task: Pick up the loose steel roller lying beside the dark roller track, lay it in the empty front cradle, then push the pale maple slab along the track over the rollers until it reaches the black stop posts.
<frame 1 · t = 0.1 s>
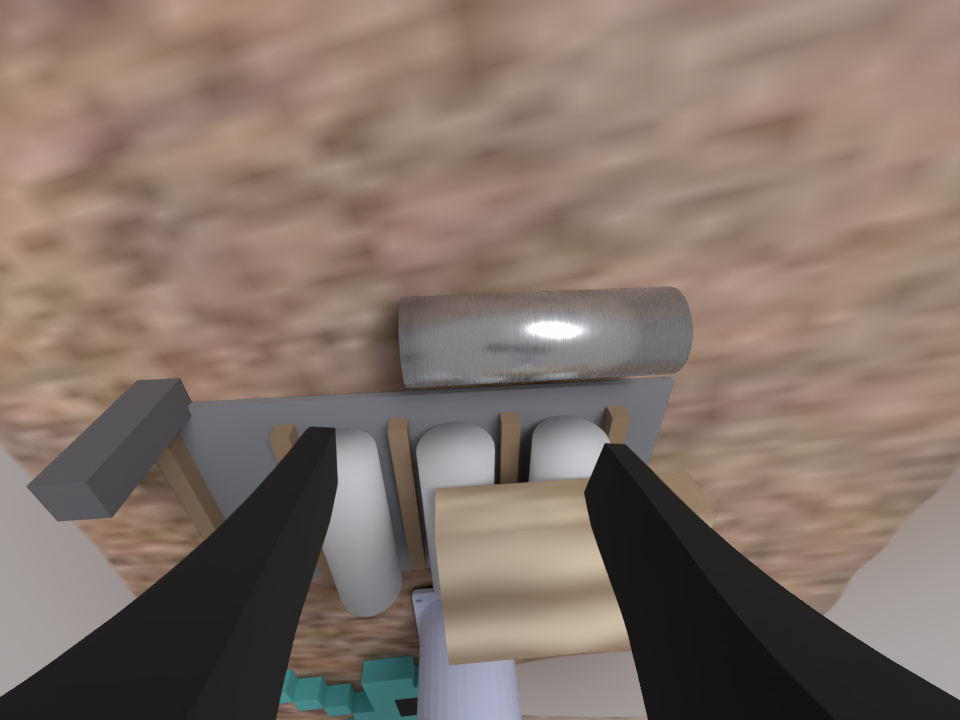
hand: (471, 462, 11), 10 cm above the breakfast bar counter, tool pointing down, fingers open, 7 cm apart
roller bed: (426, 490, 26), on the breakfast bar counter
loose roller: (530, 316, 20), on the breakfast bar counter
slab: (558, 576, 22), point 6 cm above the breakfast bar counter, slide at 0.0 cm
alien figure: (394, 693, 45), on the breakfast bar counter
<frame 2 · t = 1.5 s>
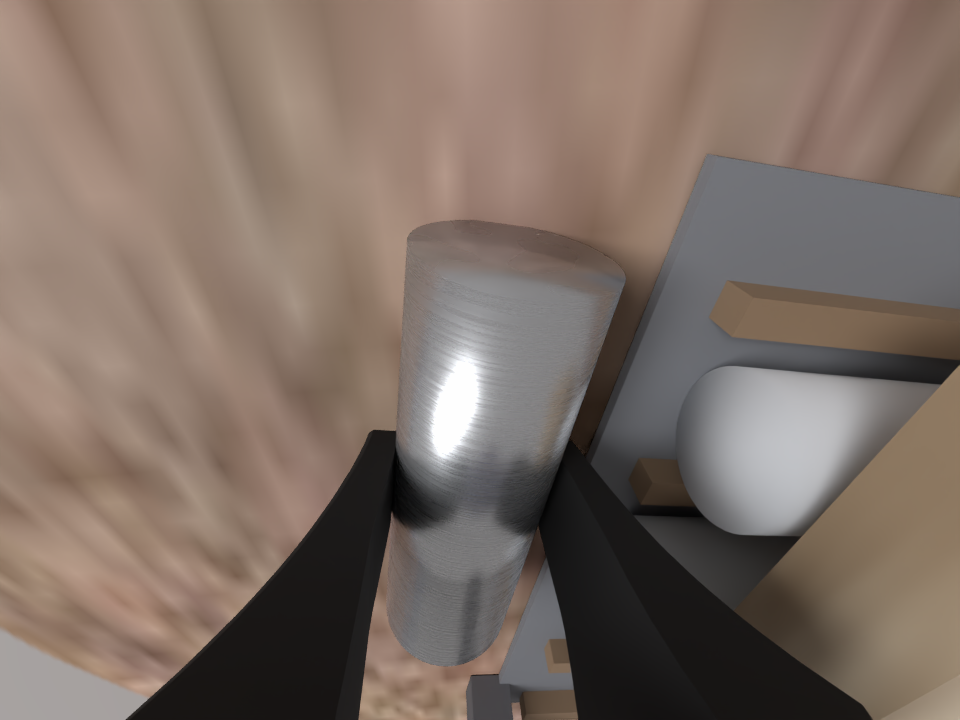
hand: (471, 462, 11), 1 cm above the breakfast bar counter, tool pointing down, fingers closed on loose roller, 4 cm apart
roller bed: (733, 551, 17), on the breakfast bar counter
loose roller: (467, 424, 12), on the breakfast bar counter, touching gripper
when the fingers open (3 cm above the breakfast bar counter, at t = 6.4 s): loose roller stays where it is, resting on roller bed.
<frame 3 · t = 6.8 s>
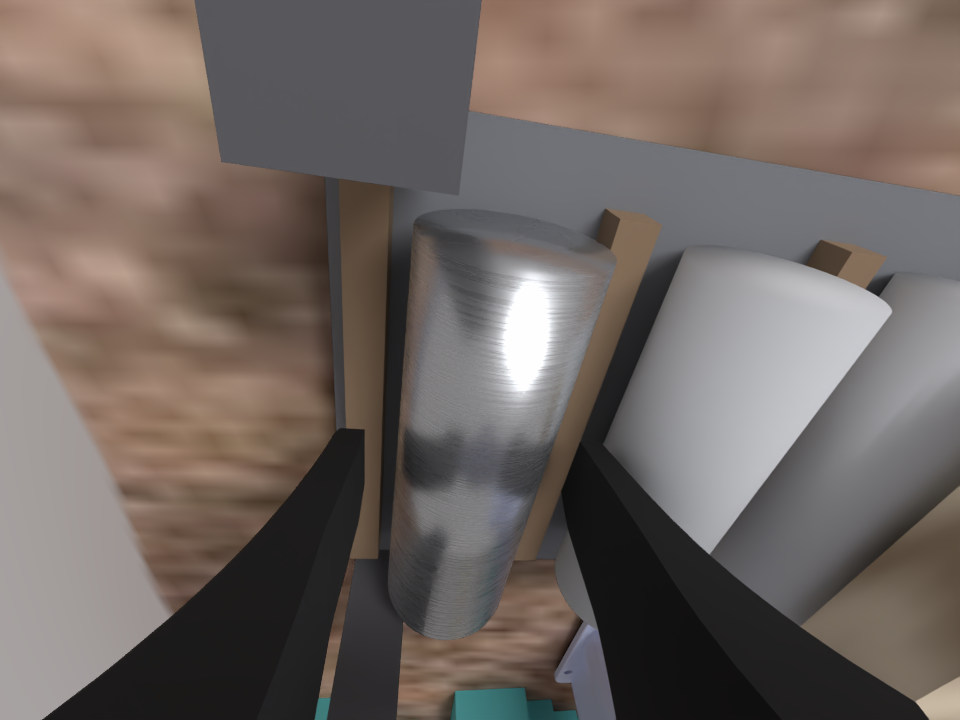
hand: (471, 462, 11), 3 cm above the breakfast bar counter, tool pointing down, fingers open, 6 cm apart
roller bed: (742, 420, 15), on the breakfast bar counter
loose roller: (466, 407, 13), resting on roller bed
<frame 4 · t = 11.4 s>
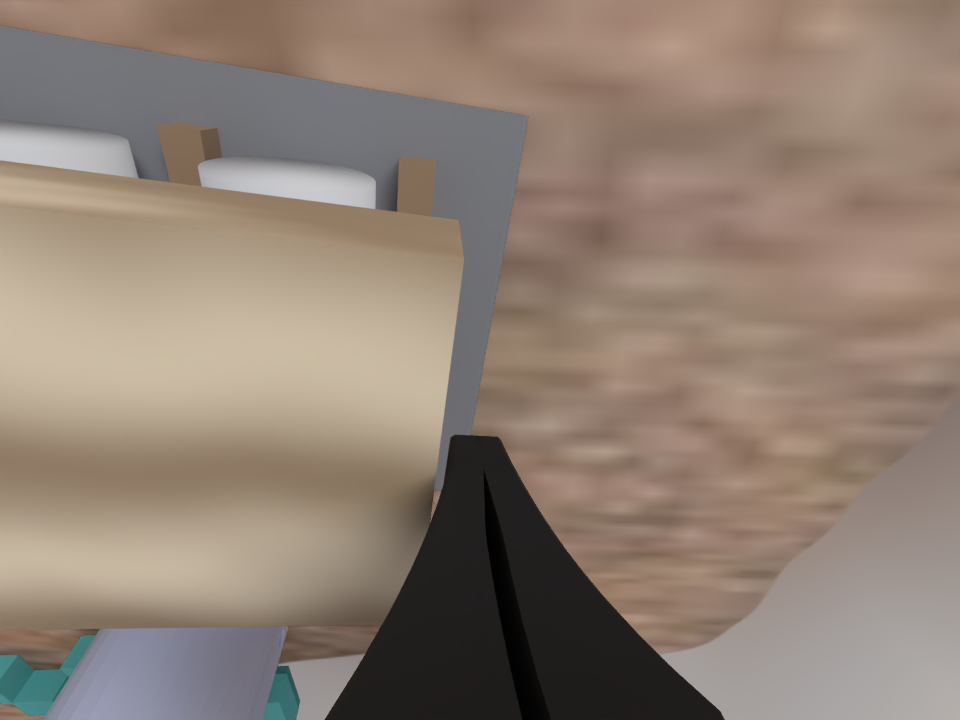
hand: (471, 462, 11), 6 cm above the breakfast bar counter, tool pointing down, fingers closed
roller bed: (87, 313, 14), on the breakfast bar counter
slab: (187, 450, 10), point 6 cm above the breakfast bar counter, slide at 0.9 cm, touching gripper
alien figure: (158, 688, 32), on the breakfast bar counter
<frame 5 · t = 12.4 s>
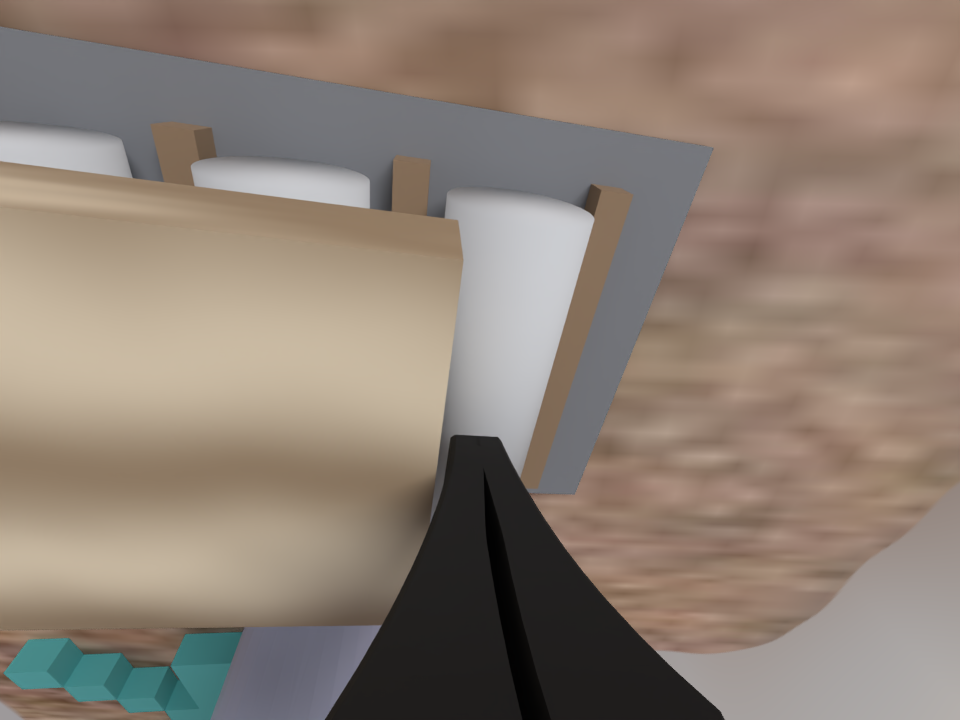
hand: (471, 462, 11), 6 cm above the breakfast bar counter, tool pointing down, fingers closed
roller bed: (266, 329, 15), on the breakfast bar counter
slab: (187, 451, 10), point 6 cm above the breakfast bar counter, slide at 6.8 cm, touching gripper
alien figure: (240, 685, 32), on the breakfast bar counter
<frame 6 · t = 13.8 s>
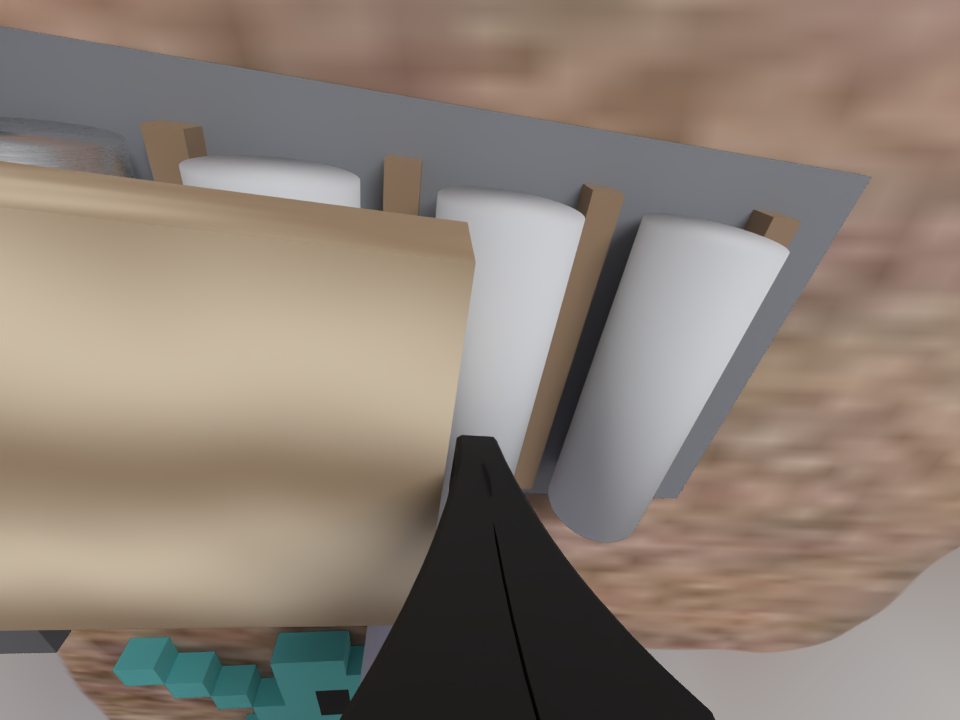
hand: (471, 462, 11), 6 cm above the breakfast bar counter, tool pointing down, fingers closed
roller bed: (423, 342, 16), on the breakfast bar counter
loose roller: (130, 321, 14), resting on roller bed, tilted 8°
slab: (195, 451, 10), point 6 cm above the breakfast bar counter, slide at 12.3 cm, touching gripper
alien figure: (315, 683, 33), on the breakfast bar counter
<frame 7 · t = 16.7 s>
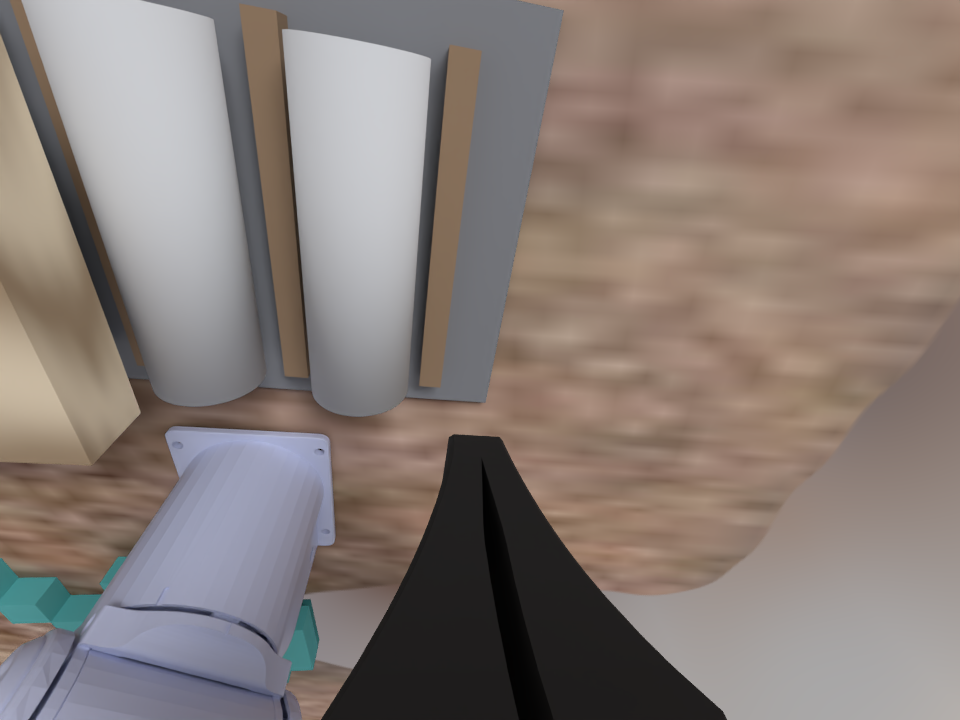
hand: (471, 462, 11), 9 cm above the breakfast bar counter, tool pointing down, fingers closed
roller bed: (154, 206, 16), on the breakfast bar counter
alien figure: (184, 622, 33), on the breakfast bar counter
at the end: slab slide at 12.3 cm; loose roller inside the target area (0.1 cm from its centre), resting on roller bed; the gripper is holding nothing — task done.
